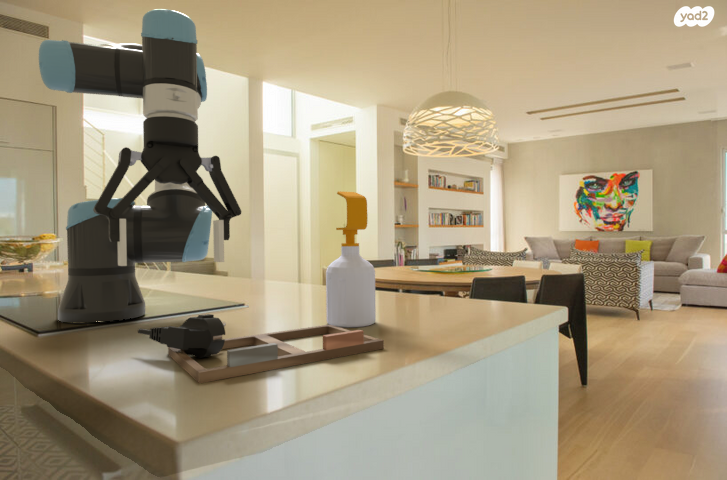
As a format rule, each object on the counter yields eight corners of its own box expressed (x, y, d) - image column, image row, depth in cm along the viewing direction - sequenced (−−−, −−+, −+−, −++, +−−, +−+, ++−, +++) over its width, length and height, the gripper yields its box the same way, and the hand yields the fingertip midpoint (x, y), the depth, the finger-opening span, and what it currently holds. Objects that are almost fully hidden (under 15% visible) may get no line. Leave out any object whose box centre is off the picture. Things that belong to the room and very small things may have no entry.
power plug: (136, 310, 64) (199, 318, 59) (180, 307, 71) (240, 314, 66) (133, 352, 64) (196, 364, 59) (177, 345, 71) (238, 355, 65)
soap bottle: (359, 317, 93) (358, 193, 93) (384, 324, 85) (383, 189, 85) (318, 321, 88) (317, 192, 88) (341, 330, 80) (339, 187, 80)
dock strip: (168, 355, 64) (167, 334, 64) (329, 331, 79) (329, 313, 79) (199, 383, 52) (199, 356, 52) (383, 348, 67) (383, 327, 67)
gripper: (74, 100, 59) (76, 268, 59) (260, 126, 73) (262, 261, 73) (70, 114, 65) (72, 266, 65) (243, 135, 79) (245, 259, 79)
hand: (173, 263), depth 69 cm, fingers open, 13 cm apart
